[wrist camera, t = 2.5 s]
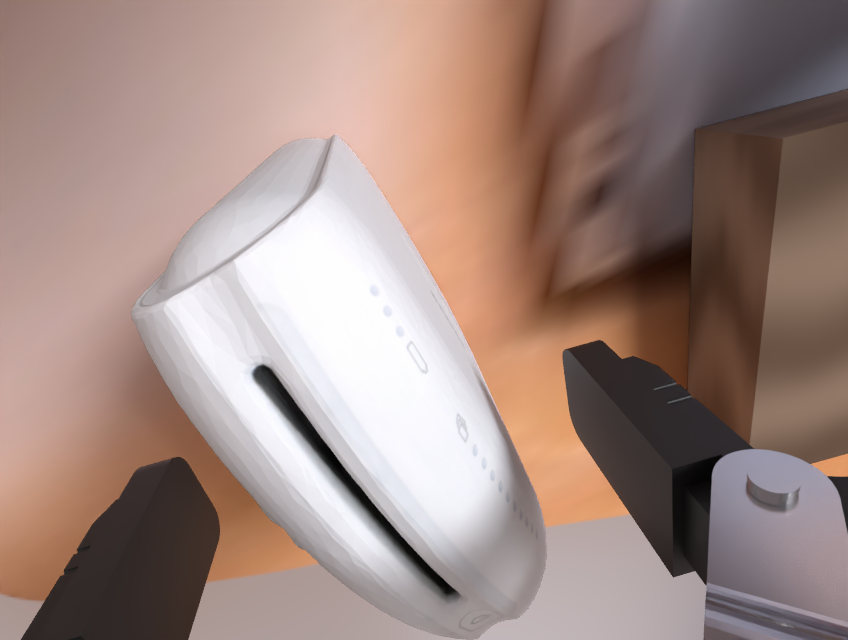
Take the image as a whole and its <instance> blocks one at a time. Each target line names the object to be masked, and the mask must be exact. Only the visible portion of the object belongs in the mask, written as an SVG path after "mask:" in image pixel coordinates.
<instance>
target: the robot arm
mask: <svg viewBox="0 0 848 640" xmlns="http://www.w3.org/2000/svg"><path fill="white" fill-rule="evenodd" d="M563 366H564V374H565V382H566V390H567V397H568V405H569V412H570V416H571V420H572V423H573V426H574V428H575V431H576V433H577V435H578V437H579V438H580V440H581V442H582V443H583V445H584V446H585V447H586V449H587V450H588V452H589V453H590V455H591V456H592V458H593V459H594V461H595V462H596V464H597V465H598V467H599V468H600V470H601V471H602V473H603V474H604V476H605V477H606V479H607V480H608V482H609V483H610V485H611V486H612V488H613V489H614V490H615V492H616V493H617V495H618V496H619V498H620V499H621V501H622V502H623V504H624V505H625V507H626V508H627V510H628V511H629V513H630V514H631V516H632V517H633V518H634V520H635V522H636V523H637V525H638V526H639V528H640V529H641V530H642V532H643V533H644V535H645V536H646V538H647V539H648V541H649V542H650V544H651V545H652V547H653V548H654V550H655V551H656V553H657V554H658V556H659V557H660V559H661V560H662V562H663V563H664V565H665V566H666V568H667V569H668V571H669V572H670V573H671V575H672V576H673V577H676V576H679V575H683V574H686V573H690V572H693V571H696V572H697V574H698V575H699V577H700V578H701V579H702V580H703V582H704V583H705V585H706V586H707V588H706V603H705V622H704V640H848V477H832V476H826V475H825V474H823V473H822V472H821V471H820V470H818V469H817V468H815V467H814V466H812V465H811V464H809V463H807V462H805V461H803V460H801V459H799V458H796V457H794V456H791V455H788V454H784V453H781V452H776V451H771V450H763V449H754V448H753V447H752V446H750V445H749V444H748V443H747V442H746V441H745V440H743V439H742V438H741V437H740V436H739V435H738V434H736V433H735V432H734V431H733V430H732V429H731V428H729V427H728V426H727V425H726V424H725V423H724V422H723V421H721V420H720V419H719V418H718V417H717V416H716V415H714V414H713V413H712V412H711V411H710V410H709V409H707V408H706V407H705V406H704V405H703V404H702V403H700V402H699V401H698V400H697V399H696V398H692V396H691V394H690V393H689V392H688V391H687V390H685V389H684V388H683V387H682V386H681V385H677V383H676V381H675V380H674V379H673V378H671V377H670V376H669V375H668V374H667V373H666V372H664V371H663V370H662V369H661V368H660V367H659V366H657V365H654V364H652V363H649V362H647V361H644V360H642V359H639V358H637V357H634V356H632V357H628V358H625V359H621V358H620V357H619V356H618V355H617V354H616V353H615V352H614V351H613V350H612V349H611V348H609V347H608V346H607V345H606V344H605V343H604V342H603V341H601V340H597V341H594V342H590V343H587V344H583V345H580V346H576V347H572V348H569V349H565V350H564V351H563ZM219 535H220V525H219V519H218V515H217V512H216V510H215V508H214V506H213V504H212V503H211V501H210V499H209V498H208V496H207V494H206V493H205V491H204V489H203V488H202V486H201V484H200V483H199V481H198V479H197V478H196V476H195V474H194V473H193V471H192V469H191V468H190V466H189V464H188V463H187V462H186V461H185V460H184V459H183V458H181V457H175V458H172V459H168V460H165V461H161V462H158V463H154V464H150V465H147V466H143V467H140V468H138V469H137V470H136V471H135V473H134V474H133V476H132V477H131V479H130V481H129V482H128V484H127V486H126V487H125V489H124V491H123V492H122V494H121V496H120V497H119V499H118V500H116V501H115V502H114V503H113V504H112V505H111V506H110V507H109V508H108V509H107V510H106V511H105V512H104V513H103V514H102V515H101V516H100V517H99V518H98V519H97V520H96V521H95V522H94V523H93V524H92V526H91V528H90V529H89V531H88V532H87V534H86V536H85V537H84V539H83V540H82V542H81V544H80V545H79V547H78V548H77V551H78V553H77V554H74V555H73V557H72V558H71V560H70V561H69V563H68V565H67V566H66V568H65V569H64V575H63V576H60V578H59V579H58V581H57V582H56V584H55V586H54V587H53V589H52V590H51V592H50V594H49V595H48V597H47V598H46V600H45V602H44V603H43V605H42V607H41V609H40V610H39V611H38V613H37V615H36V616H35V618H34V620H33V621H32V623H31V624H30V626H29V628H28V629H27V631H26V632H25V634H24V636H23V637H22V639H21V640H188V638H189V635H190V632H191V628H192V625H193V622H194V619H195V616H196V612H197V609H198V606H199V603H200V599H201V596H202V593H203V590H204V587H205V583H206V580H207V577H208V574H209V570H210V567H211V564H212V561H213V557H214V554H215V551H216V548H217V544H218V541H219Z"/></svg>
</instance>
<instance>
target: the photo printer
mask: <svg viewBox="0 0 848 640" xmlns="http://www.w3.org/2000/svg"><path fill="white" fill-rule="evenodd" d="M131 315H132V320H133V321H134V323H135V325H136V327H137V329H138V331H139V334H140V336H141V338H142V341H143V343H144V345H145V347H146V349H147V351H148V353H149V355H150V356H151V358H152V360H153V362H154V364H155V365H156V367H157V369H158V371H159V372H160V374H161V376H162V378H163V380H164V381H165V383H166V385H167V386H168V388H169V389H170V391H171V393H172V394H173V396H174V397H175V399H176V401H177V402H178V404H179V405H180V406H181V408H182V409H183V410H184V412H185V413H186V415H187V416H188V418H189V419H190V421H191V422H192V423H193V424H194V426H195V427H196V428H197V430H198V431H199V432H200V434H201V435H202V436H203V438H204V439H205V440H206V442H207V443H208V445H209V446H210V447H211V448H212V450H213V451H214V452H215V454H216V455H217V456H218V457H219V459H220V460H221V461H222V462H223V463H224V465H225V466H226V467H227V468H228V469H229V471H230V472H231V473H232V474H233V475H234V477H235V478H236V479H237V480H238V481H239V482H240V484H241V485H242V486H243V487H244V488H245V489H246V490H247V491H248V493H249V494H250V495H251V496H252V497H253V498H254V499H255V500H256V502H257V503H258V505H259V506H260V508H261V509H262V510H263V512H264V513H265V514H266V515H267V516H268V518H269V519H270V520H271V521H273V522H274V523H276V524H277V525H279V526H280V527H282V528H283V529H284V530H285V531H286V532H287V534H288V535H289V536H290V537H291V539H292V540H293V542H294V543H295V544H296V545H297V546H298V547H299V548H301V549H303V550H306V551H307V552H308V553H309V554H310V555H311V556H312V557H313V558H314V559H315V560H317V561H318V563H319V564H320V565H321V566H322V567H324V568H325V569H326V570H327V571H328V572H329V573H331V574H332V575H333V576H334V577H336V578H337V579H338V580H339V581H341V582H342V583H343V584H344V585H346V586H347V587H348V588H349V589H350V590H352V591H354V592H355V593H356V594H358V595H359V596H360V597H362V598H363V599H365V600H366V601H368V602H369V603H371V604H372V605H374V606H375V607H377V608H378V609H380V610H381V611H383V612H385V613H387V614H389V615H390V616H392V617H394V618H396V619H398V620H400V621H402V622H404V623H406V624H408V625H410V626H413V627H415V628H417V629H420V630H423V631H426V632H429V633H432V634H436V635H440V636H444V637H450V638H457V639H466V640H474V639H478V638H479V637H480V636H481V635H482V634H483V633H484V632H485V631H486V630H487V629H489V628H490V627H491V626H492V625H494V624H496V623H498V622H501V621H505V620H511V619H517V618H519V617H520V616H521V615H522V614H523V613H524V612H525V611H526V610H527V609H528V607H529V606H530V605H531V603H532V601H533V600H534V598H535V596H536V594H537V591H538V589H539V587H540V584H541V581H542V577H543V574H544V570H545V565H546V557H547V543H546V532H545V525H544V519H543V515H542V511H541V507H540V504H539V502H538V499H537V496H536V493H535V490H534V488H533V486H532V484H531V482H530V480H529V477H528V475H527V473H526V471H525V469H524V466H523V464H522V462H521V460H520V457H519V455H518V453H517V451H516V449H515V446H514V444H513V442H512V440H511V437H510V435H509V433H508V431H507V429H506V426H505V424H504V422H503V420H502V418H501V415H500V413H499V411H498V409H497V407H496V404H495V402H494V400H493V398H492V395H491V393H490V391H489V389H488V387H487V384H486V382H485V380H484V378H483V376H482V373H481V371H480V369H479V367H478V364H477V362H476V360H475V358H474V356H473V353H472V351H471V349H470V347H469V345H468V343H467V341H466V339H465V337H464V335H463V333H462V331H461V329H460V327H459V325H458V323H457V321H456V319H455V317H454V315H453V313H452V311H451V309H450V307H449V305H448V303H447V301H446V300H445V298H444V296H443V294H442V292H441V291H440V289H439V287H438V285H437V284H436V282H435V280H434V278H433V276H432V275H431V273H430V271H429V269H428V268H427V266H426V264H425V262H424V261H423V259H422V257H421V255H420V254H419V252H418V250H417V249H416V247H415V245H414V244H413V242H412V240H411V239H410V237H409V235H408V234H407V232H406V230H405V229H404V227H403V225H402V224H401V222H400V221H399V219H398V217H397V216H396V214H395V212H394V211H393V209H392V208H391V206H390V205H389V203H388V202H387V200H386V198H385V197H384V195H383V194H382V192H381V191H380V189H379V188H378V186H377V185H376V183H375V181H374V180H373V178H372V177H371V175H370V174H369V172H368V171H367V169H366V168H365V166H364V165H363V164H362V162H361V161H360V160H359V159H358V157H357V156H356V155H355V153H354V152H353V151H352V150H351V149H350V148H349V146H348V145H347V144H346V143H345V142H344V141H343V140H342V139H341V138H340V137H339V136H338V135H333V136H332V137H331V138H330V139H328V140H324V139H319V138H306V139H299V140H296V141H292V142H290V143H288V144H286V145H284V146H282V147H281V148H279V149H278V150H277V151H276V152H274V153H273V154H272V155H271V156H270V157H269V158H268V159H266V160H265V161H264V162H263V163H262V164H261V165H260V166H259V167H257V168H256V169H255V170H254V171H253V172H252V173H251V174H250V175H248V176H247V177H246V178H245V179H244V180H243V181H242V182H241V183H240V184H239V185H237V186H236V187H235V188H234V189H233V190H232V191H230V192H229V193H228V194H227V195H226V196H225V197H224V198H223V199H222V200H221V201H219V202H218V203H217V204H216V205H215V206H214V207H213V208H211V209H210V210H209V211H208V212H207V213H206V214H205V215H204V216H202V217H201V218H200V219H199V220H198V221H197V222H196V223H195V224H194V225H193V226H192V227H191V228H190V229H189V231H188V232H187V233H186V234H185V235H184V237H183V238H182V239H181V241H180V243H179V244H178V246H177V248H176V249H175V251H174V253H173V254H172V256H171V259H170V261H169V264H168V267H167V269H166V271H165V272H164V273H163V274H162V275H161V276H160V277H159V278H158V279H157V280H156V281H155V282H154V283H153V284H152V285H151V286H150V287H149V288H148V289H147V290H146V291H145V292H144V293H143V294H142V295H141V296H140V297H139V299H138V300H137V301H136V303H135V305H134V306H133V309H132V312H131Z"/></svg>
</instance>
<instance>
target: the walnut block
mask: <svg viewBox="0 0 848 640" xmlns="http://www.w3.org/2000/svg"><path fill="white" fill-rule="evenodd" d="M687 391H688V392H689V393H690V394H691V396H692V398H696V399H697V400H698V401H699V402H700V403H702V404H703V405H704V406H705V407H706V408H707V409H709V410H710V411H711V412H712V413H713V414H714V415H716V416H717V417H718V418H719V419H720V420H721V421H723V422H724V423H725V424H726V425H727V426H728V427H729V428H731V429H732V430H733V431H734V432H735V433H736V434H738V435H739V436H740V437H741V438H742V439H743V440H745V441H746V442H747V443H748V444H749V445H750V446H752V447H753V448H754V449H763V450H771V451H776V452H781V453H784V454H788V455H791V456H794V457H796V458H799V459H801V460H803V461H805V462H807V463H809V464H812V463H815V462H819V461H822V460H826V459H830V458H833V457H837V456H840V455H844V454H848V89H846V90H842V91H838V92H834V93H830V94H827V95H823V96H819V97H815V98H811V99H808V100H804V101H800V102H796V103H792V104H788V105H785V106H781V107H777V108H773V109H769V110H766V111H762V112H758V113H754V114H750V115H747V116H743V117H739V118H735V119H731V120H728V121H724V122H720V123H716V124H712V125H709V126H705V127H701V128H697V129H695V152H694V186H693V219H692V253H691V287H690V321H689V355H688V389H687Z"/></svg>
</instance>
